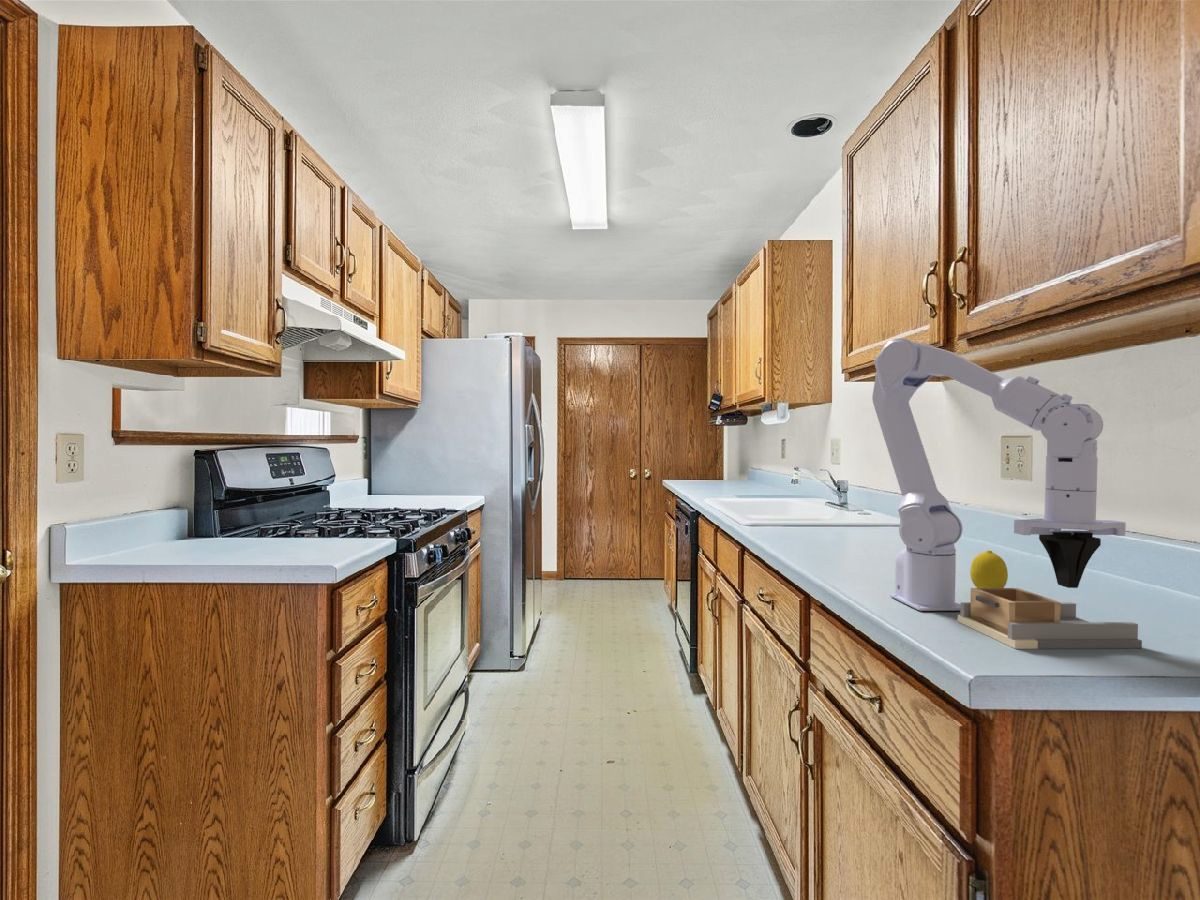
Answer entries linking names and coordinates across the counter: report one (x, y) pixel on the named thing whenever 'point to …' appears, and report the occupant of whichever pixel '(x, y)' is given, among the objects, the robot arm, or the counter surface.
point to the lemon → (988, 571)
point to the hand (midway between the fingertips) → (1067, 586)
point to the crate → (1011, 607)
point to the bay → (1059, 632)
